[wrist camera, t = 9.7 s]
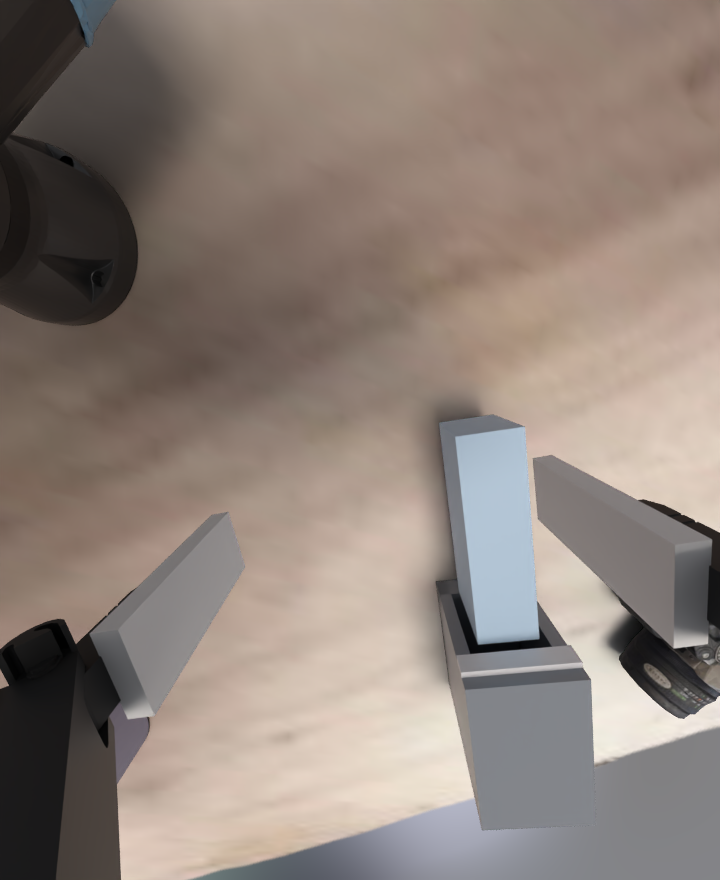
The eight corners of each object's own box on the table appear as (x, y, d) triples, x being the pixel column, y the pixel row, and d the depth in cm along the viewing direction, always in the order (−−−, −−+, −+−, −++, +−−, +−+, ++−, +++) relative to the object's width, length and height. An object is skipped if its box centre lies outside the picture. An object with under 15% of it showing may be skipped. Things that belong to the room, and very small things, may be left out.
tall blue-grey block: (438, 422, 32) (455, 436, 25) (492, 414, 31) (524, 426, 24) (458, 591, 35) (478, 644, 28) (507, 586, 35) (539, 639, 28)
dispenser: (435, 577, 38) (464, 684, 25) (517, 568, 37) (590, 673, 24) (449, 684, 41) (482, 830, 28) (525, 678, 40) (596, 825, 27)
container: (122, 675, 43) (-10, 832, 29) (165, 735, 45) (61, 912, 30) (60, 700, 45) (-96, 862, 30) (103, 758, 46) (-24, 937, 32)
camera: (565, 619, 38) (629, 704, 28) (630, 552, 36) (723, 619, 26) (671, 689, 39) (768, 795, 29) (740, 628, 37) (869, 719, 27)
